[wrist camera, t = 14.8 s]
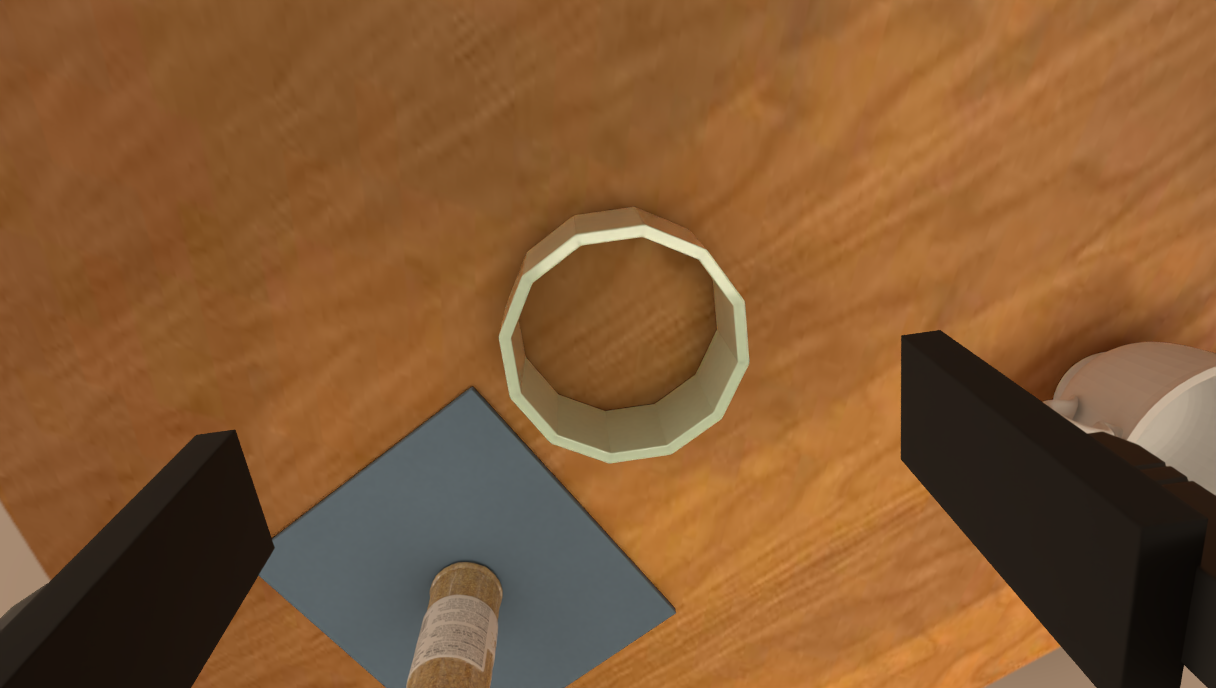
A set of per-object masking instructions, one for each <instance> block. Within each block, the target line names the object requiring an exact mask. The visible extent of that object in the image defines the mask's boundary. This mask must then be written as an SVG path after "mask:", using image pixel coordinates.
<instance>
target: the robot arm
mask: <svg viewBox="0 0 1216 688" xmlns="http://www.w3.org/2000/svg"><path fill="white" fill-rule="evenodd" d="M901 460H902V461H903V462H904V463H905V465H906V466H907V467H908V468H909V469H910V470H911V472H912V473H913V474H914V475H915V476H916V477H917V479H918V480H919V481H920V482H921V483H922V484H923V486H924V487H925V488H926V489H927V490H928V491H929V493H930V494H931V495H932V496H933V497H934V498H935V500H936V501H937V502H938V503H939V504H940V505H941V507H942V508H943V509H944V510H945V511H946V512H947V514H948V515H949V516H950V517H951V518H952V519H953V521H954V522H955V523H956V524H957V525H958V526H959V528H960V529H961V530H962V531H963V532H964V533H965V535H966V536H967V537H968V538H969V539H970V540H971V542H972V543H973V544H974V545H975V546H976V548H977V549H978V550H979V551H980V552H981V553H982V555H983V556H984V557H985V558H986V559H987V560H988V562H989V563H990V564H991V565H992V566H993V567H994V569H995V570H996V571H997V572H998V573H999V574H1000V576H1001V577H1002V578H1003V579H1004V580H1005V581H1006V583H1007V584H1008V585H1009V586H1010V587H1011V588H1012V590H1013V591H1014V592H1015V593H1016V594H1017V595H1018V597H1019V598H1020V599H1021V600H1022V601H1023V602H1024V604H1025V605H1026V606H1027V607H1028V608H1029V609H1030V611H1031V612H1032V613H1033V614H1034V615H1035V616H1036V618H1037V619H1038V620H1039V621H1040V622H1041V623H1042V625H1043V626H1044V627H1045V628H1046V629H1047V630H1048V632H1049V633H1050V634H1051V635H1052V636H1053V637H1054V639H1055V640H1056V641H1057V642H1058V643H1059V644H1060V646H1061V647H1062V648H1063V649H1064V650H1065V651H1066V653H1067V654H1068V655H1069V656H1070V657H1071V658H1072V660H1073V661H1074V662H1075V663H1076V664H1077V665H1078V666H1079V668H1080V669H1081V670H1082V671H1083V672H1084V674H1085V675H1086V676H1087V677H1088V678H1089V679H1090V680H1091V682H1092V683H1093V684H1094V685H1095V686H1096V687H1097V688H1180V685H1181V679H1182V673H1183V667H1184V665H1185V666H1186V667H1187V668H1188V669H1189V670H1190V671H1191V672H1192V673H1193V674H1194V675H1195V676H1196V677H1197V678H1198V679H1199V680H1200V681H1201V682H1202V683H1203V684H1204V685H1206V686H1207V687H1208V688H1216V495H1214V494H1213V493H1211V492H1209V491H1208V490H1206V489H1205V488H1203V487H1202V486H1200V485H1199V484H1197V483H1196V482H1194V481H1188V479H1187V476H1185V475H1184V474H1182V473H1181V472H1179V471H1178V470H1176V469H1175V468H1173V467H1172V466H1166V464H1165V462H1164V461H1162V460H1161V459H1159V458H1158V457H1156V456H1155V455H1153V454H1152V453H1150V452H1149V451H1147V450H1146V449H1144V448H1143V447H1141V446H1140V445H1138V444H1135V443H1133V442H1130V441H1127V440H1125V439H1122V438H1119V437H1116V436H1114V435H1111V434H1108V433H1106V432H1103V431H1102V432H1095V433H1086V432H1084V431H1083V430H1082V429H1080V428H1079V427H1077V426H1076V425H1074V424H1073V423H1072V422H1070V421H1069V420H1067V419H1066V418H1064V417H1063V416H1062V415H1060V414H1059V413H1057V412H1056V411H1054V410H1053V409H1052V408H1050V407H1049V406H1047V405H1046V404H1045V403H1043V402H1042V401H1040V400H1039V399H1037V398H1036V397H1035V396H1033V395H1032V394H1030V393H1029V392H1027V391H1026V390H1025V389H1023V388H1022V387H1020V386H1019V385H1017V384H1016V383H1015V382H1013V381H1012V380H1010V379H1009V378H1007V377H1006V376H1005V375H1003V374H1002V373H1000V372H999V371H998V370H996V369H995V368H993V367H992V366H990V365H989V364H988V363H986V362H985V361H983V360H982V359H980V358H979V357H978V356H976V355H975V354H973V353H972V352H970V351H969V350H968V349H966V348H965V347H963V346H962V345H961V344H959V343H958V342H956V341H955V340H953V339H952V338H951V337H949V336H948V335H946V334H945V333H943V332H942V331H941V330H937V331H930V332H923V333H916V334H909V335H902V336H901ZM274 549H275V547H274V544H273V541H272V538H271V535H270V532H269V529H268V526H267V523H266V520H265V517H264V514H263V511H262V508H261V505H260V502H259V499H258V496H257V493H256V490H255V487H254V484H253V481H252V478H251V475H250V472H249V469H248V466H247V463H246V460H245V457H244V454H243V451H242V448H241V445H240V442H239V439H238V436H237V433H236V430H229V431H221V432H214V433H207V434H200V435H196V436H195V437H194V438H193V439H192V440H191V441H190V442H189V443H188V444H187V445H186V446H185V447H184V448H183V449H182V450H181V451H180V452H179V453H178V454H177V455H176V456H175V457H174V458H173V459H172V460H171V461H170V462H169V463H168V464H167V465H166V466H165V467H164V468H163V469H162V470H161V471H160V472H159V473H158V474H157V475H156V476H155V477H154V478H153V479H152V480H151V481H150V482H149V483H148V484H147V485H146V486H145V487H144V488H143V489H142V490H141V491H140V492H139V493H138V494H137V495H136V496H135V497H134V498H133V499H132V500H131V501H130V502H129V503H128V504H127V505H126V506H125V507H124V508H123V509H122V510H121V511H120V512H119V513H118V514H117V515H116V516H115V517H114V518H113V519H112V520H111V521H110V522H109V523H108V524H107V525H106V526H105V527H104V528H103V529H102V530H101V531H100V532H99V533H98V534H97V535H96V536H95V537H94V538H93V539H92V540H91V541H90V542H89V543H88V544H87V545H86V546H85V547H84V548H83V549H82V550H81V551H80V552H79V553H78V554H77V555H76V556H75V557H74V558H73V559H72V560H71V561H70V562H69V563H68V564H67V565H66V566H65V567H64V568H63V569H62V570H61V571H60V572H59V573H58V574H57V575H56V576H55V577H54V578H53V579H52V580H51V581H50V582H49V583H48V584H46V585H45V586H43V587H41V588H40V589H39V590H37V591H35V592H34V593H32V594H31V595H29V596H28V597H26V598H25V599H23V600H22V601H20V602H19V603H18V604H16V605H14V606H13V607H12V608H11V609H10V610H9V611H8V612H7V613H6V614H4V615H3V616H2V618H0V688H191V687H192V685H193V684H194V682H195V680H196V679H197V677H198V675H199V674H200V672H201V670H202V669H203V667H204V665H205V664H206V662H207V660H208V659H209V657H210V655H211V654H212V652H213V650H214V649H215V647H216V645H217V644H218V642H219V640H220V639H221V637H222V635H223V634H224V632H225V630H226V629H227V627H228V625H229V624H230V622H231V620H232V619H233V617H234V615H235V614H236V612H237V610H238V609H239V607H240V605H241V604H242V602H243V600H244V599H245V597H246V595H247V594H248V592H249V590H250V589H251V587H252V585H253V584H254V582H255V580H256V579H257V577H258V575H259V574H260V572H261V570H262V569H263V567H264V565H265V564H266V562H267V560H268V559H269V557H270V555H271V554H272V552H273V550H274Z"/></svg>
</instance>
